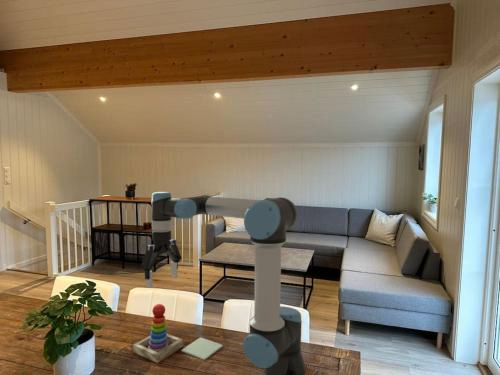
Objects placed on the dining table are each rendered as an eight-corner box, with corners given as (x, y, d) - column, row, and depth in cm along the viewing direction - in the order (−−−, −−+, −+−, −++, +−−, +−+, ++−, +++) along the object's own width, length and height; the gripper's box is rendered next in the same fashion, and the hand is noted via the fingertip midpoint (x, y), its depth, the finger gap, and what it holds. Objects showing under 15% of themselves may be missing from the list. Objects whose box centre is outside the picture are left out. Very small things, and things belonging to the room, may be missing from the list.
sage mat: (222, 346, 143) (222, 345, 143) (204, 360, 133) (204, 358, 133) (200, 338, 150) (200, 337, 150) (181, 351, 140) (181, 349, 139)
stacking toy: (163, 355, 136) (162, 309, 135) (144, 353, 138) (143, 307, 136) (171, 345, 144) (171, 301, 143) (153, 343, 146) (153, 300, 144)
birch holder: (182, 346, 143) (182, 339, 143) (157, 362, 131) (157, 355, 131) (159, 337, 150) (158, 330, 150) (132, 352, 139) (132, 344, 138)
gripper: (176, 225, 151) (177, 272, 152) (129, 234, 130) (130, 289, 131) (189, 226, 147) (190, 275, 148) (143, 236, 126) (144, 293, 127)
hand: (162, 282), depth 140 cm, fingers open, 13 cm apart
